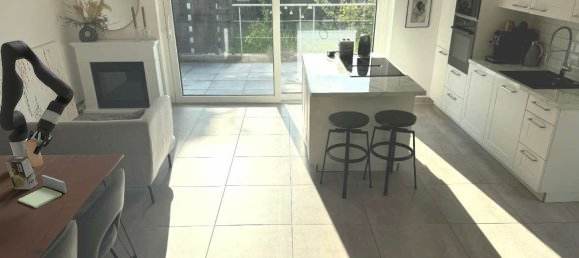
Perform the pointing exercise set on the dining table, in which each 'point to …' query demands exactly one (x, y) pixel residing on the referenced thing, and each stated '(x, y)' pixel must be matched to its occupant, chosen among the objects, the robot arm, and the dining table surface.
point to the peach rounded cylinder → (33, 158)
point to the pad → (39, 197)
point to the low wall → (54, 183)
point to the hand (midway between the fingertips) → (31, 152)
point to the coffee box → (21, 172)
